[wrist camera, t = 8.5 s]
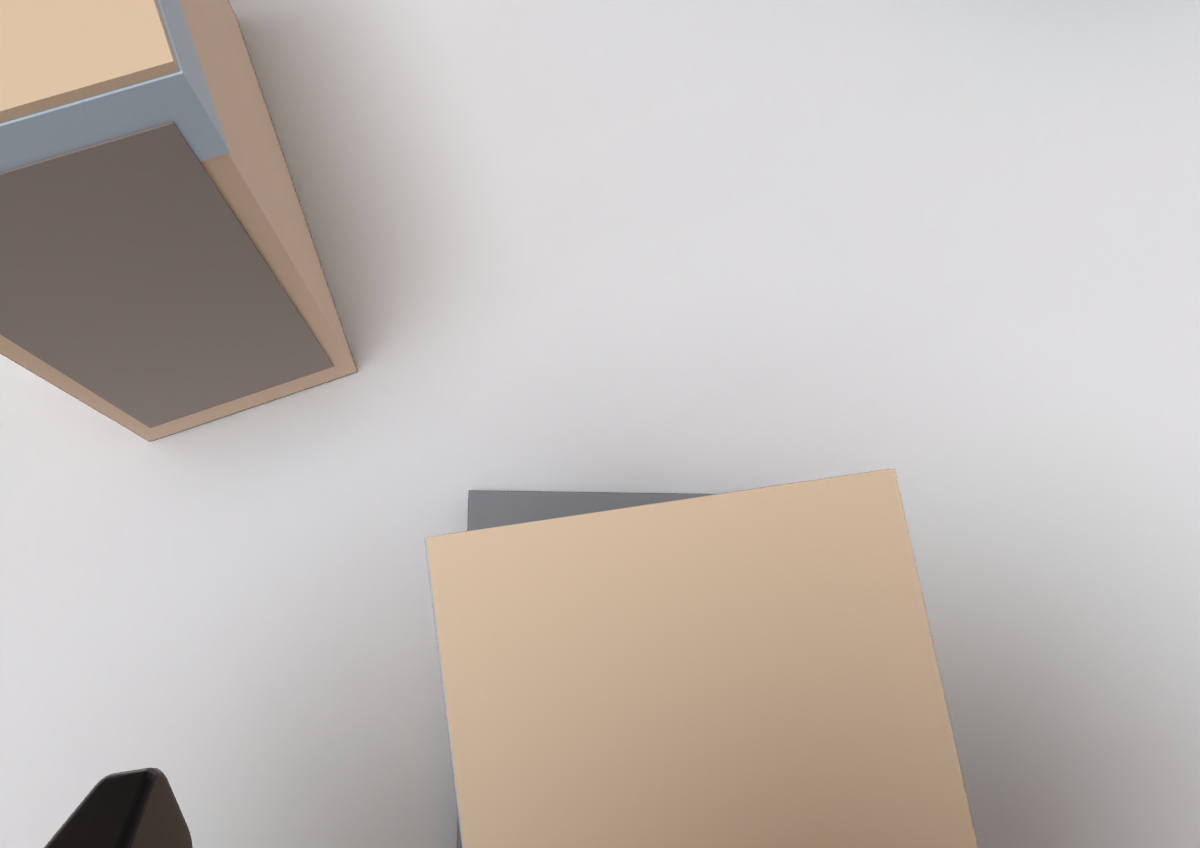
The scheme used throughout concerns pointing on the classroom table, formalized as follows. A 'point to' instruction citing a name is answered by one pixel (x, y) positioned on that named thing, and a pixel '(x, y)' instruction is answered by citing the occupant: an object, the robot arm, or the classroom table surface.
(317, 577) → the classroom table surface
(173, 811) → the robot arm
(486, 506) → the mat
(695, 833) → the stub
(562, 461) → the classroom table surface
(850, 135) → the classroom table surface
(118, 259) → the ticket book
